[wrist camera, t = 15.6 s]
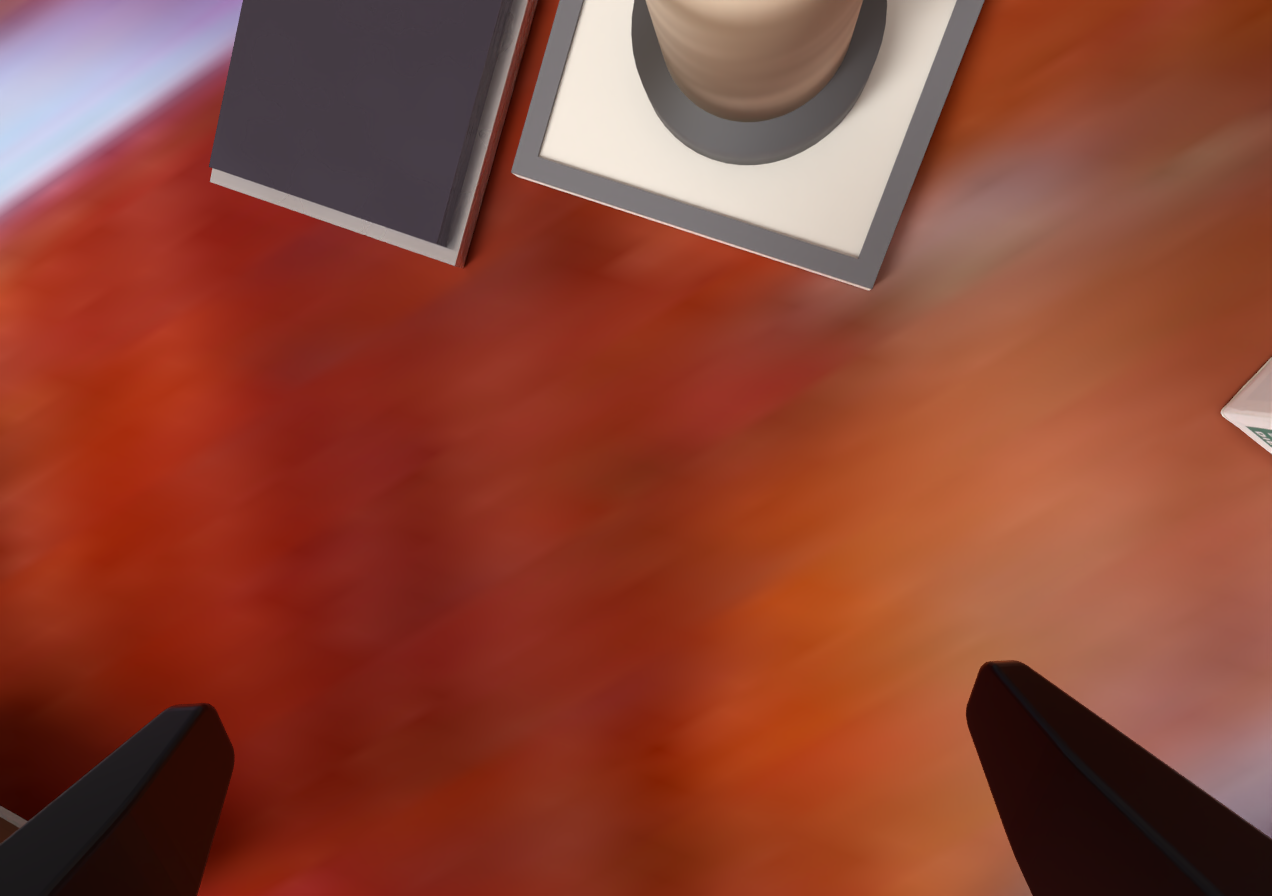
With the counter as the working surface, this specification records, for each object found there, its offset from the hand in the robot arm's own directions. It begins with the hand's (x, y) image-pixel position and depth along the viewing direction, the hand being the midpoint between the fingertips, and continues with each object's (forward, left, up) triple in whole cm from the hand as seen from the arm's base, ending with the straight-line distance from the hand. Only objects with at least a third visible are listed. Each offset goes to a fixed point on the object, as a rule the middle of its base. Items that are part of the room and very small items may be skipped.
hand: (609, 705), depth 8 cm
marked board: (+3, -12, -12) cm, 17 cm away
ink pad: (+13, -8, -12) cm, 19 cm away
